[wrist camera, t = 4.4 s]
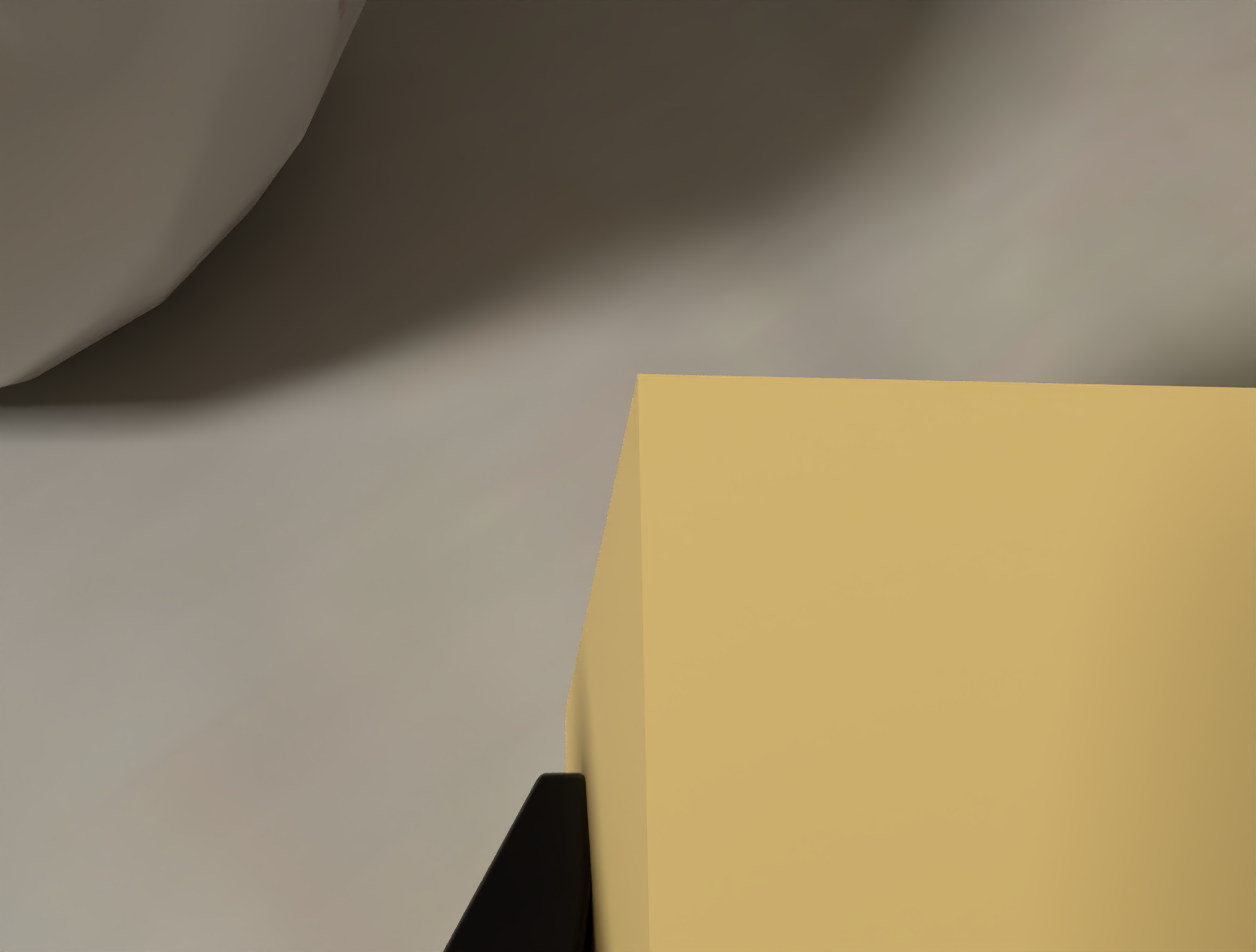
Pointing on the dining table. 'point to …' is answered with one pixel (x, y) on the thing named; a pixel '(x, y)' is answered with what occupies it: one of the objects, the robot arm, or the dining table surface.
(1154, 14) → the dining table surface
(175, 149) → the chamber pot
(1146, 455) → the block
